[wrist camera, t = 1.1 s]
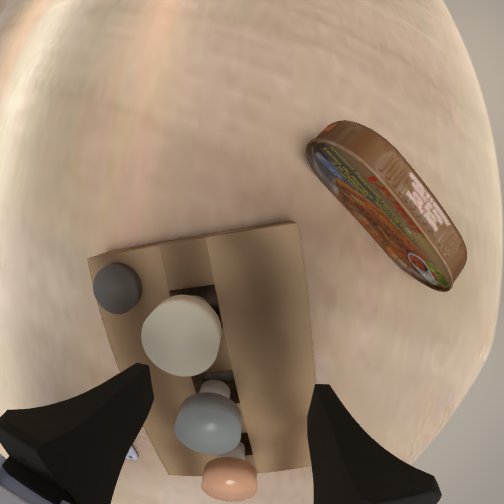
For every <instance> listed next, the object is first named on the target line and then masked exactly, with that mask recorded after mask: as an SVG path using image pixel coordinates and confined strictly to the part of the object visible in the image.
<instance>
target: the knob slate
mask: <svg viewBox="0 0 504 504" xmlns="http://www.w3.org/2000/svg"><path fill="white" fill-rule="evenodd" d="M241 425H242V414H241V411H240V409H239V407H238V406H237V405H236V404H235V403H234V402H233V401H232V400H230V389H229V387H228V385H227V384H226V383H224V382H222V381H220V380H216V379H212V380H207V381H205V382H204V383H203V384H202V385H201V388H200V391H199V393H196V394H193V395H191V396H189V397H188V398H186V399H185V400H184V401H183V403H182V404H181V407H180V410H179V413H178V416H177V419H176V422H175V425H174V431H175V434H176V436H177V438H178V439H179V441H180V442H181V443H182V444H184V445H185V446H186V447H188V448H190V449H191V450H194V451H196V452H199V453H203V454H212V455H215V454H223V453H226V452H229V451H231V450H233V449H234V448H235V447H236V446H237V445H238V444H239V442H240V440H241Z"/></svg>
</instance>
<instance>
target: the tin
mask: <svg viewBox="0 0 504 504" xmlns="http://www.w3.org/2000/svg"><path fill="white" fill-rule="evenodd" d="M306 154H307V157H308V160H309V162H310V164H311V166H312V168H313V170H314V172H315V173H316V175H317V176H318V177H319V179H320V180H321V181H322V182H323V184H324V185H325V186H326V187H327V188H328V189H329V190H330V191H331V192H332V194H333V195H334V196H335V197H336V198H337V199H338V200H339V201H340V202H341V203H342V204H343V205H344V206H345V207H346V208H347V209H348V210H349V211H350V213H351V214H352V215H353V216H354V217H355V218H356V219H357V220H358V221H359V222H360V223H361V224H362V226H363V227H364V228H365V229H366V230H367V231H368V232H369V234H370V235H371V236H372V237H373V238H374V239H375V240H376V241H377V243H378V244H379V245H380V246H381V247H382V248H383V250H384V251H385V252H386V253H387V254H388V255H389V256H390V257H391V258H392V259H393V260H394V261H395V262H396V263H397V264H398V265H399V266H400V267H401V268H402V269H403V270H404V271H406V272H407V273H408V274H409V275H411V276H412V277H413V278H415V279H416V280H418V281H419V282H421V283H422V284H424V285H426V286H428V287H430V288H432V289H434V290H437V291H441V292H447V291H449V290H450V289H451V288H452V286H453V283H454V282H455V280H456V279H457V277H458V276H459V274H460V273H461V271H462V269H463V268H464V266H465V264H466V261H467V250H466V246H465V243H464V241H463V239H462V237H461V235H460V233H459V232H458V230H457V228H456V227H455V225H454V224H453V222H452V221H451V219H450V218H449V216H448V215H447V213H446V212H445V210H444V209H443V207H442V206H441V205H440V203H439V202H438V200H437V199H436V198H435V196H434V195H433V194H432V192H431V191H430V189H429V188H428V187H427V186H426V184H425V183H424V182H423V180H422V179H421V178H420V177H419V175H418V174H417V173H416V172H415V170H414V169H413V168H412V167H411V166H410V164H409V163H408V162H407V161H406V160H405V158H404V157H403V156H402V155H401V154H400V153H399V152H398V150H397V149H396V148H395V147H394V146H393V145H392V144H390V143H389V142H388V141H387V140H386V139H385V138H383V137H382V136H381V135H379V134H378V133H376V132H375V131H373V130H372V129H370V128H368V127H366V126H364V125H361V124H359V123H355V122H351V121H346V120H344V121H338V122H335V123H332V124H330V125H329V126H328V127H326V128H325V129H324V130H323V131H322V132H321V133H320V134H319V135H318V136H317V137H316V138H315V139H314V140H311V141H310V142H309V143H308V144H307V146H306Z"/></svg>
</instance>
